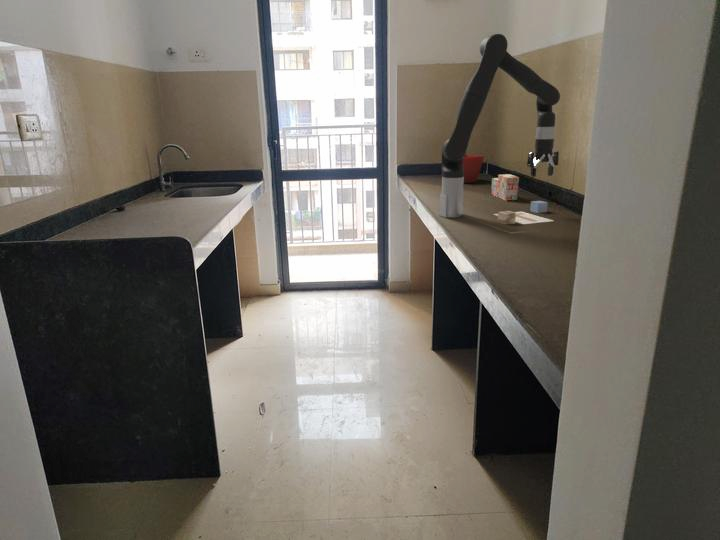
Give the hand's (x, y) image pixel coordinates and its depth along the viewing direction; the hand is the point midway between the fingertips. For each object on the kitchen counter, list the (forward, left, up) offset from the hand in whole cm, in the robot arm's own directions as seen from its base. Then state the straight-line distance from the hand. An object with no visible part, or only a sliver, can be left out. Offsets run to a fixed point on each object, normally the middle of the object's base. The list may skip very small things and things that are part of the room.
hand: (541, 176), depth 213 cm
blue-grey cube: (0, 0, -16) cm, 16 cm away
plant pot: (+21, +106, -17) cm, 109 cm away
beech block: (-26, -14, -16) cm, 34 cm away
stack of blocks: (+9, +41, -17) cm, 45 cm away
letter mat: (-14, -8, -16) cm, 23 cm away
